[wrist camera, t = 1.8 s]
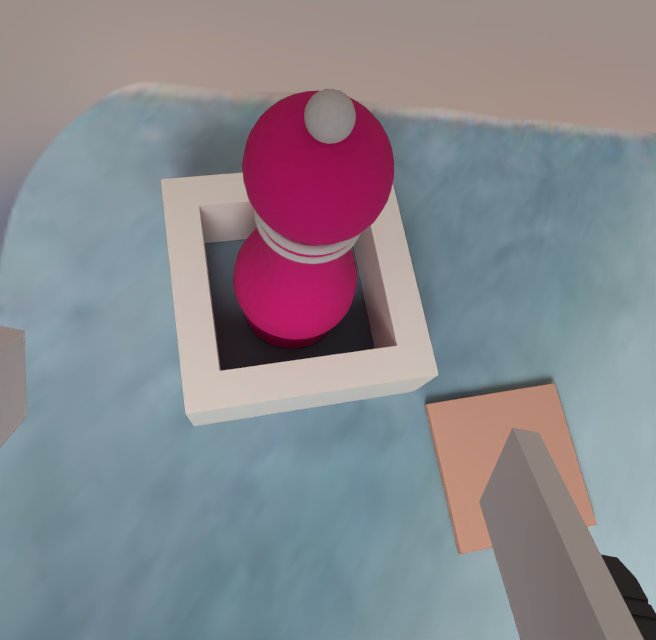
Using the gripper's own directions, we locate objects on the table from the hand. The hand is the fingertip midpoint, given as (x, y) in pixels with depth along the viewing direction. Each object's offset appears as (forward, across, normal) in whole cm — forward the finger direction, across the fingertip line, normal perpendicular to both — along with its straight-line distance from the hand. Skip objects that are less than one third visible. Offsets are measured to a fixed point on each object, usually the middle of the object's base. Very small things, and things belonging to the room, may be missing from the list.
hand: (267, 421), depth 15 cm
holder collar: (+22, 0, -6) cm, 22 cm away
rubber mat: (+16, +16, -12) cm, 25 cm away
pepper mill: (+22, 0, -7) cm, 23 cm away
